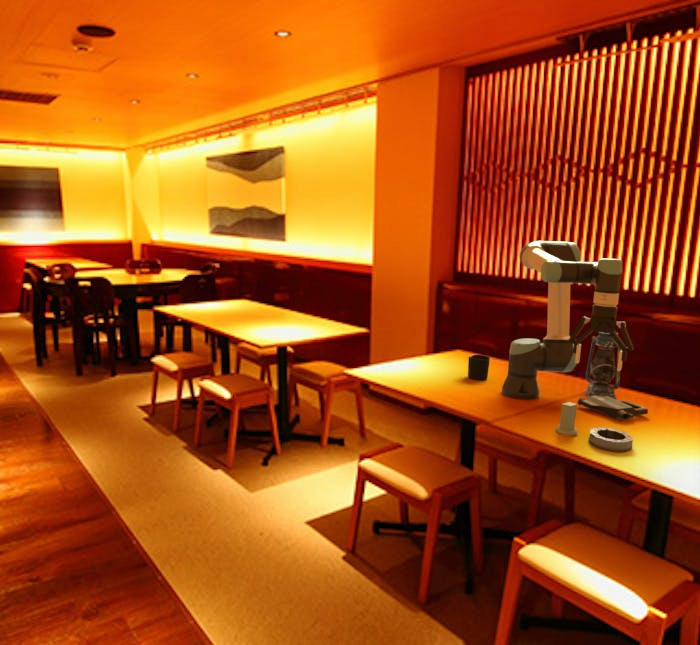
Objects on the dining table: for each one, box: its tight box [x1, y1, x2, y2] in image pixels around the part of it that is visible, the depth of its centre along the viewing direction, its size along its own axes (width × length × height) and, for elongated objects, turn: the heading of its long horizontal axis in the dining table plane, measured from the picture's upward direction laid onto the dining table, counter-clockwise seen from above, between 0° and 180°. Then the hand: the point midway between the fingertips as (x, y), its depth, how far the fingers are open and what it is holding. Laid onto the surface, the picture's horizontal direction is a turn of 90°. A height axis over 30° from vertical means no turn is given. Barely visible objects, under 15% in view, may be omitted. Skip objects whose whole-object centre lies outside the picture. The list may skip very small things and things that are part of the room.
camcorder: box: [577, 395, 649, 421], centre depth 215 cm, size 16×20×5 cm
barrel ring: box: [588, 427, 634, 453], centre depth 183 cm, size 13×13×3 cm
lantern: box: [584, 331, 621, 400], centre depth 234 cm, size 15×12×30 cm
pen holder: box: [467, 354, 491, 382], centre depth 255 cm, size 9×9×10 cm
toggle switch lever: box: [555, 401, 579, 437], centre depth 192 cm, size 7×7×10 cm
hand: (597, 366), depth 191 cm, fingers open, 13 cm apart
